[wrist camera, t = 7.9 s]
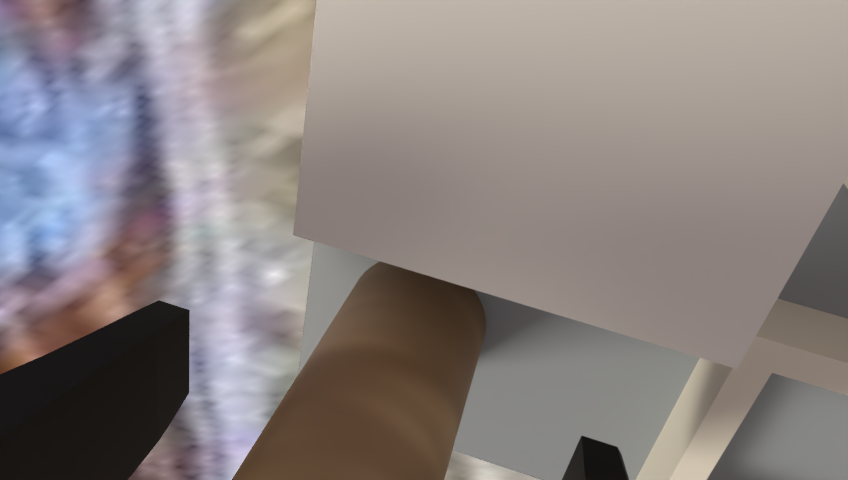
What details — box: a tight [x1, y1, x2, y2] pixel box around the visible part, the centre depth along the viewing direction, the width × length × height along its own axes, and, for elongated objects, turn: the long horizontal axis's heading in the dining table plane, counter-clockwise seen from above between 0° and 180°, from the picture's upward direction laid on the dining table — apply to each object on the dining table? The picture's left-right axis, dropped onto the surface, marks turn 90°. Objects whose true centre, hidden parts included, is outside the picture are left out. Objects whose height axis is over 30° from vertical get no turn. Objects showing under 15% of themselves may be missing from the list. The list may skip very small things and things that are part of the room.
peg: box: [232, 262, 486, 480], centre depth 12 cm, size 3×3×6 cm
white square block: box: [293, 0, 848, 369], centre depth 9 cm, size 6×6×4 cm
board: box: [298, 176, 848, 480], centre depth 12 cm, size 18×14×3 cm
